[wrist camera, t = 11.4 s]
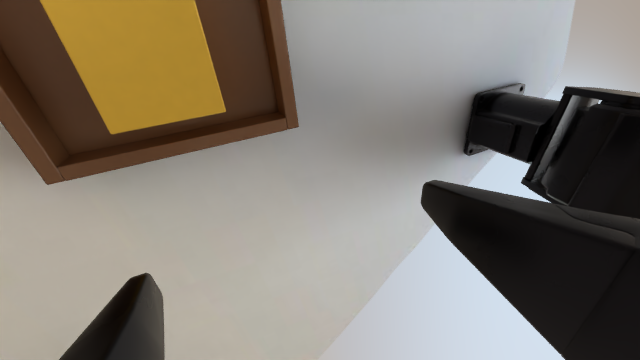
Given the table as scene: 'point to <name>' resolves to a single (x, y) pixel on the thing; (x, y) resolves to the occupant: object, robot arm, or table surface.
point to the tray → (152, 142)
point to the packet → (139, 59)
